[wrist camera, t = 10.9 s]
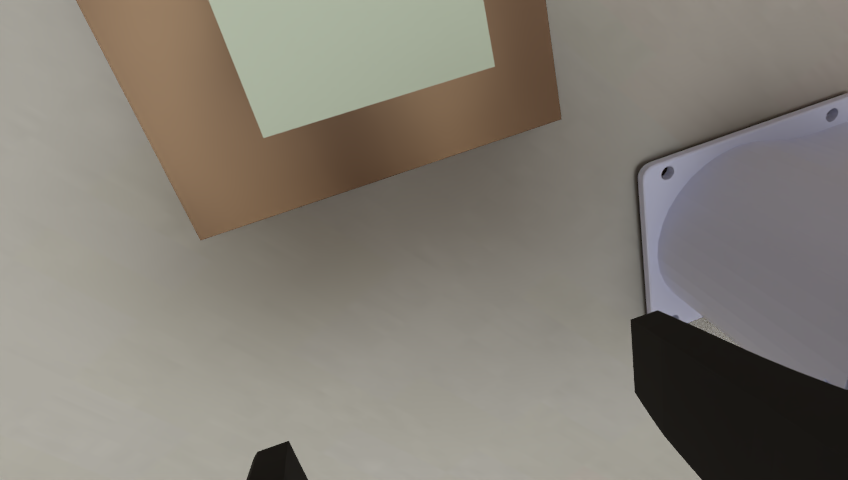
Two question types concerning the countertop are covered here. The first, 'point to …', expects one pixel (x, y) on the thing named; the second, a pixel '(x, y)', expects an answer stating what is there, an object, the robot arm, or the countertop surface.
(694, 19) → the countertop surface
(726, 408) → the robot arm
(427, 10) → the sage cube
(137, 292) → the countertop surface
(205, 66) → the walnut pad
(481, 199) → the countertop surface
